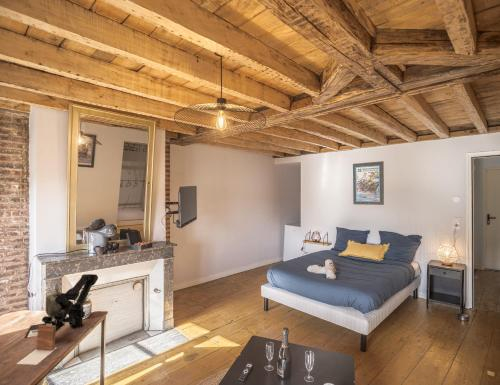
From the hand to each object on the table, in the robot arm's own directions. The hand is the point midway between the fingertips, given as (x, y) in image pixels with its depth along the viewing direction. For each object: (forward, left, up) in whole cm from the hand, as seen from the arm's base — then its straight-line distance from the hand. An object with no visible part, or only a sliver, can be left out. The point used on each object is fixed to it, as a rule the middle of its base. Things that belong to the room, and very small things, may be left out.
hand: (52, 334), depth 175 cm
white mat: (+9, +7, -7) cm, 13 cm away
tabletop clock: (-13, -39, -7) cm, 41 cm away
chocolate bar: (+1, -28, -7) cm, 29 cm away
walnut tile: (+4, +3, -6) cm, 8 cm away
